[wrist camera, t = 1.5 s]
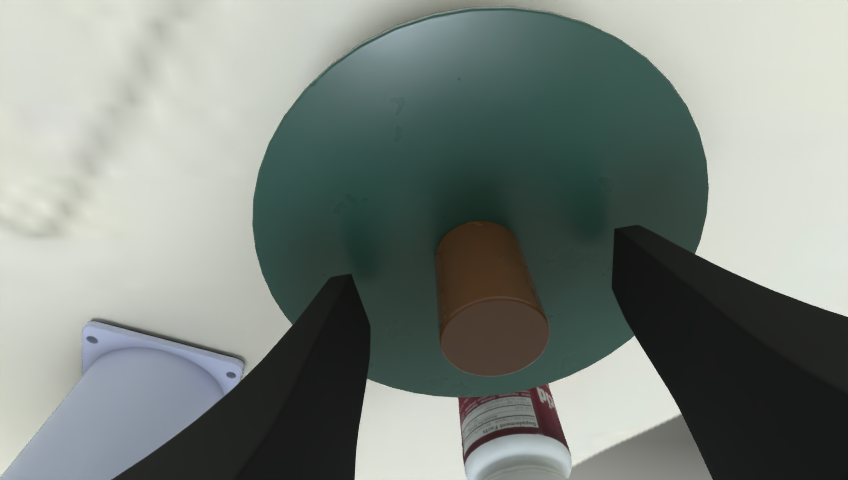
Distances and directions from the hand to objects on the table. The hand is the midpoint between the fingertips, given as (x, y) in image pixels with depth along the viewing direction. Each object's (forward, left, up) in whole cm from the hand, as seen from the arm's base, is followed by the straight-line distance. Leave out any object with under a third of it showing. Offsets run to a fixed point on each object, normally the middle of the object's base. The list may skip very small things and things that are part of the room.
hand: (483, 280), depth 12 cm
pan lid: (0, 0, -2) cm, 2 cm away
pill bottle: (-10, -7, -7) cm, 14 cm away
